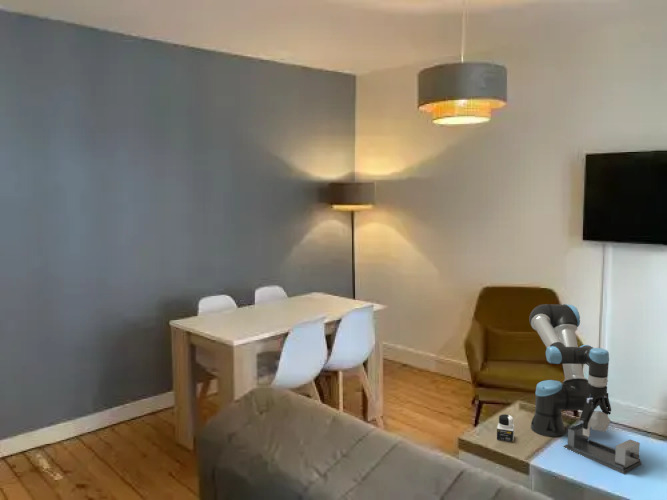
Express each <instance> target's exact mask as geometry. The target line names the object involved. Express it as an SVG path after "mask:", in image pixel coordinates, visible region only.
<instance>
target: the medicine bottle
mask: <svg viewBox="0 0 667 500" xmlns="http://www.w3.org/2000/svg"><path fill="white" fill-rule="evenodd" d="M496 440H497V441H503V442H508V443H514V440H515V424H514V418H513V416H511V415H509V414H500V415H499V416H498V423H497V427H496Z"/></svg>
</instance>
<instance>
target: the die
mask: <svg viewBox="0 0 667 500" xmlns="http://www.w3.org/2000/svg"><path fill="white" fill-rule="evenodd" d="M611 421H612V420H611V419H610V417H609V415H608V416H607V415H606V414H605V413H603V412H602V410H601V411H600V410H594V412H593V414H592V416H591V418H590V420H589V422H590V429H592V430H594V431H596V432H606V431H607V430H608V428H609V426H610V423H611Z"/></svg>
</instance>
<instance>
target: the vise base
mask: <svg viewBox="0 0 667 500" xmlns="http://www.w3.org/2000/svg"><path fill="white" fill-rule="evenodd" d="M562 447H565V448H567V449H566V450H568V451H570V450H571V451H570V452H572V451H573V452H572V453H574V452H575V453H574V454H577V455H579V454H580V455H579V456H581V455H582V457H583V456H584V457H583V458H586V459H588V460H590V461H592V462H595V463H597V464H599V465H602V466H604V467H607V468H608V469H610V470H613V471H616V472H617V473H619V474H622V475H625V474H627V473H630V472H631V471H632V470H634V469H636V468H638V467H641V466H642V465H643V463H642V461H641V458H639V461H638V462H636V463H634V464H632V465H630V466H628V467H626V468H624V467H623V466H620V465H618V464H615V453H616V448H613V447H610V446H608V445H605V444H602V443H601V442H597V441H595V440H592V439H589V437H588V436H585V435H583V422H582V423H579V424H576V425H573V426H572V427H569V428H567V444H565V445H563V446H562ZM565 448H564V449H565Z"/></svg>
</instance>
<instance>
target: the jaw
mask: <svg viewBox="0 0 667 500" xmlns="http://www.w3.org/2000/svg"><path fill="white" fill-rule="evenodd" d="M640 444H641V443H640V442H639V441H635V440H633V439H628V440H626V441H623V442H621V443H619V444H617V445H615V449H616V453H615V464H618V465H620V466H623V467H624V468H626V467H628V466H630V465H632V464H634V463H636V462H638V461H639V459H640V447H641V446H640Z"/></svg>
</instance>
